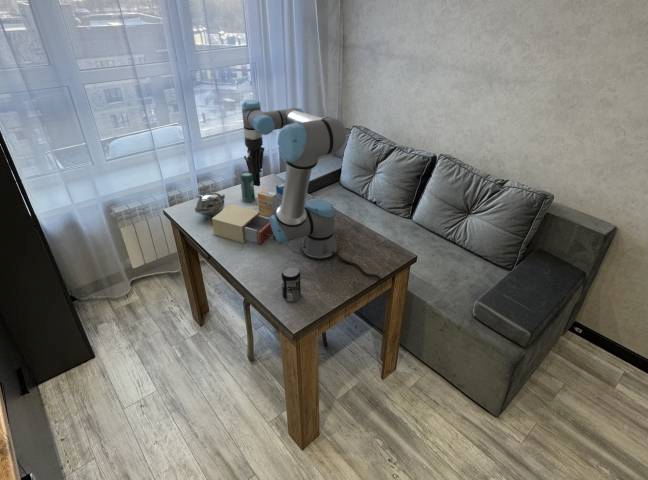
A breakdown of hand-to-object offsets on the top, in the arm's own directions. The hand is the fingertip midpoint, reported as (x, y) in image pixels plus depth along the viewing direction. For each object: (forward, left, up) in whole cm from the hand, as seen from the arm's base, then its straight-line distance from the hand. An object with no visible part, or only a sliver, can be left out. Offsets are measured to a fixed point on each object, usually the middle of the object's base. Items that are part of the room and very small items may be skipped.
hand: (256, 185), depth 183 cm
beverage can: (-40, +42, -18) cm, 61 cm away
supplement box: (-3, -3, -18) cm, 19 cm away
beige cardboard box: (+3, +14, -18) cm, 23 cm away
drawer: (-9, +14, -17) cm, 24 cm away
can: (+15, -13, -18) cm, 27 cm away
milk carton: (-15, -3, -18) cm, 24 cm away
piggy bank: (+22, +8, -18) cm, 30 cm away
